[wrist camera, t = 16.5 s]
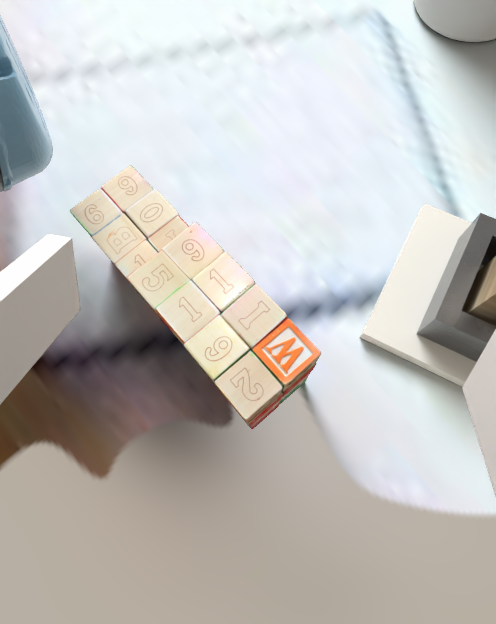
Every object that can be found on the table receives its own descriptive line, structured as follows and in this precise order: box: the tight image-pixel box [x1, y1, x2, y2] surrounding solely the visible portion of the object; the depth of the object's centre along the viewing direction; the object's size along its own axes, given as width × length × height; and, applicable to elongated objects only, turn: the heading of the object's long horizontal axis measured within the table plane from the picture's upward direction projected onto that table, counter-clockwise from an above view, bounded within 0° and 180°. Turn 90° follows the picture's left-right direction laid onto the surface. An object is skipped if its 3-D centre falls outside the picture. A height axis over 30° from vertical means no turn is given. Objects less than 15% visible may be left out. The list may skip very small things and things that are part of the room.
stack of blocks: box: [70, 165, 321, 429], centre depth 35 cm, size 21×6×12 cm, turn 41°
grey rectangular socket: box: [417, 213, 496, 362], centre depth 36 cm, size 8×10×4 cm
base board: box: [360, 203, 484, 387], centre depth 39 cm, size 16×14×2 cm
